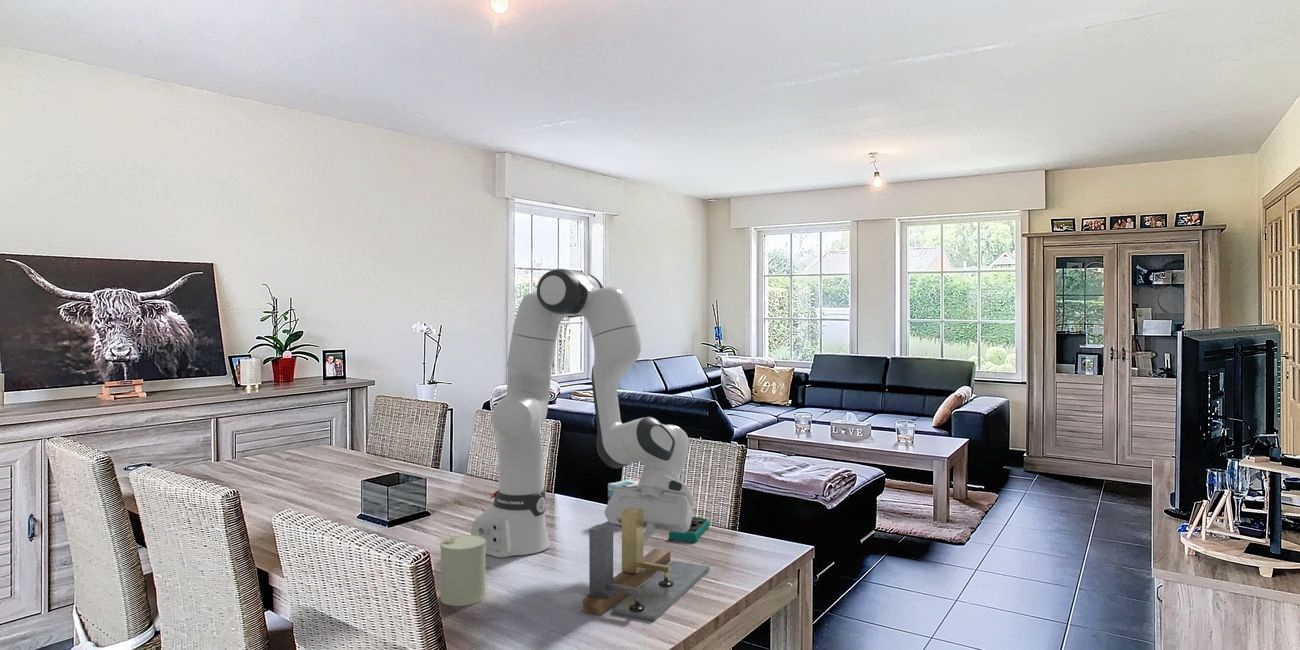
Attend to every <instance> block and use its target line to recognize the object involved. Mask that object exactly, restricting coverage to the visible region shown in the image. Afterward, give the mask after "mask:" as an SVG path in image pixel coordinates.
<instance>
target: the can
mask: <svg viewBox="0 0 1300 650" xmlns="http://www.w3.org/2000/svg"><path fill="white" fill-rule="evenodd" d="M485 546H486V540H485V539H484V538H483V537H480V536H474V535H471V534H468V535H466V534H465V535H456V536H452V537H448V538H446V539H444V540H442V541H441V542H440V597H439V599H440V602H441V603H443V604H444V605H446V606H449V607H450V606H451V607H464V606H465V607H466V606H471V605H475V604H478V603H480V602H482V601H484V600H485V598H486V597H487V589H486V587H487V586H486V554H485Z"/></svg>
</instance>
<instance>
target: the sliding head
mask: <svg viewBox="0 0 1300 650" xmlns="http://www.w3.org/2000/svg"><path fill="white" fill-rule="evenodd" d="M643 533H644V527H643V509H637V508H627V509H625V510H624V511H622V526H621V572H622V571H623V572H629V573H634V574H637V573H638V572H640V571H641V570H642V569H643V568H645V569H651V570H657V572H659V571H663V572H664V582H669V572H670V571H671V566H668V564H666V565H662V564H656V563H650V562H643V557H644V545H643Z"/></svg>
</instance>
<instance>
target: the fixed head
mask: <svg viewBox="0 0 1300 650" xmlns="http://www.w3.org/2000/svg"><path fill="white" fill-rule="evenodd" d="M588 532H589V536H588V537H589V538H588V540H589V542H588V543H589V545H588V546H589V550H588V551H589V552H588V553H589V560H588V561H589V562H588V563H589V564H588V565H589V567H588V571H589V575H588V576H589V587H588V588H589V589H588V590H589V591H588V592H587V593H585V597H587V596H589V597H594V598H599V599H605V600H607V599H609V598H610V597H611V596H613V595H614V594H615V593H617V592H622V593H627V594H628V595H630V594H632V595H635V606H640V595H641V594H642V588H639V587H637V588H636V587H631V586H625V585H620V584H614V583H613V578H614V526H612V525H606V524H605V525H604V524H599V523H598V524H596V525H593V526H592V527H591V528H589V531H588Z"/></svg>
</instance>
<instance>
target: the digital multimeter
mask: <svg viewBox="0 0 1300 650" xmlns="http://www.w3.org/2000/svg"><path fill="white" fill-rule="evenodd" d="M708 527H709V528H710V521H709V519H708V518H703V517H695V516H692V520H691V525H690V528H689V530H688V531H687V532H685V533H680V532H672V531H668V533H669V534H668V539H669V540H670V539H673V540H672V541H675V540H679V541H678V542H684V541H689V542H688V543H696V542H697V541H698V540H699V539H700V537H701V536H702V535H703V534H704V533H705V532H706V531H707V530H708V529H709V528H708ZM707 528H708V529H707Z"/></svg>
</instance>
